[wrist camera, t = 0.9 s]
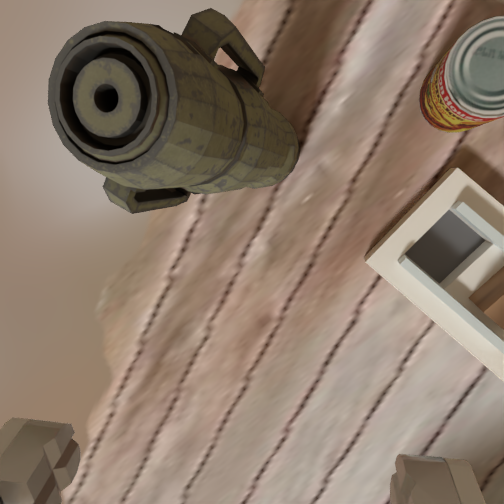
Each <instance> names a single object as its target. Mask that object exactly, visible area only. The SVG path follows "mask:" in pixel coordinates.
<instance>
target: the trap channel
mask: <svg viewBox="0 0 504 504" xmlns="http://www.w3.org/2000/svg"><path fill="white" fill-rule="evenodd" d="M364 259H365V262H366V263H367V264H368V265H369V266H370V267H372V268H373V269H374V270H375V271H376V272H377V273H379V274H380V275H381V276H382V277H383V278H384V279H385V280H387V281H388V282H389V283H390V284H391V285H392V286H394V287H395V288H396V289H397V290H398V291H399V292H400V293H402V294H403V295H404V296H405V297H406V298H407V299H409V300H410V301H411V302H412V303H413V304H414V305H415V306H417V307H418V308H419V309H420V310H421V311H422V312H424V313H425V314H426V315H427V316H428V317H429V318H430V319H432V320H433V321H434V322H435V323H436V324H437V325H439V326H440V327H441V328H442V329H443V330H444V331H445V332H447V333H448V334H449V335H450V336H451V337H452V338H454V339H455V340H456V341H457V342H458V343H459V344H460V345H462V346H463V347H464V348H465V349H466V350H467V351H469V352H470V353H471V354H472V355H473V356H474V357H475V358H477V359H478V360H479V361H480V362H481V363H482V364H484V365H485V366H486V367H487V368H488V369H489V370H490V371H492V372H493V373H494V374H495V375H496V376H497V377H499V378H500V379H501V380H502V381H503V382H504V330H503V329H502V328H501V327H500V326H499V325H497V324H496V323H495V322H494V321H493V320H492V319H490V318H489V317H488V316H487V315H486V314H485V313H483V312H482V311H481V310H480V309H479V308H478V307H477V306H476V305H475V304H474V303H473V302H472V301H471V300H470V299H469V297H470V296H471V295H472V294H473V293H474V292H475V291H477V290H478V289H479V288H480V287H481V286H482V285H483V284H484V283H485V282H487V281H488V280H489V279H490V278H491V277H492V276H493V275H494V274H495V273H497V272H498V271H499V270H500V269H501V268H502V267H503V266H504V206H503V205H502V204H500V203H499V202H498V201H497V200H496V199H494V198H493V197H492V196H491V195H490V194H488V193H487V192H486V191H485V190H484V189H483V188H481V187H480V186H479V185H478V184H477V183H475V182H474V181H473V180H472V179H471V178H469V177H468V176H467V175H466V174H465V173H464V172H462V171H461V170H460V169H459V168H450V169H449V170H448V171H447V172H446V173H445V174H444V175H443V176H442V177H441V178H440V179H439V180H438V181H437V182H436V183H435V184H434V185H433V186H432V188H431V189H430V190H429V191H428V192H427V193H426V194H425V195H424V196H423V197H422V198H421V199H420V200H419V201H418V202H417V203H416V204H415V205H414V206H413V207H412V208H411V209H410V210H409V211H408V212H407V213H406V214H405V215H404V216H403V217H402V218H401V220H400V221H399V222H398V223H397V224H396V225H395V226H394V227H393V228H392V229H391V230H390V231H389V232H388V233H387V234H386V235H385V236H384V237H383V238H382V239H381V240H380V241H379V242H378V243H377V244H376V245H375V246H374V247H373V248H372V249H371V250H370V251H369V253H368V254H367V255H366V256H365V257H364Z"/></svg>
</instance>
